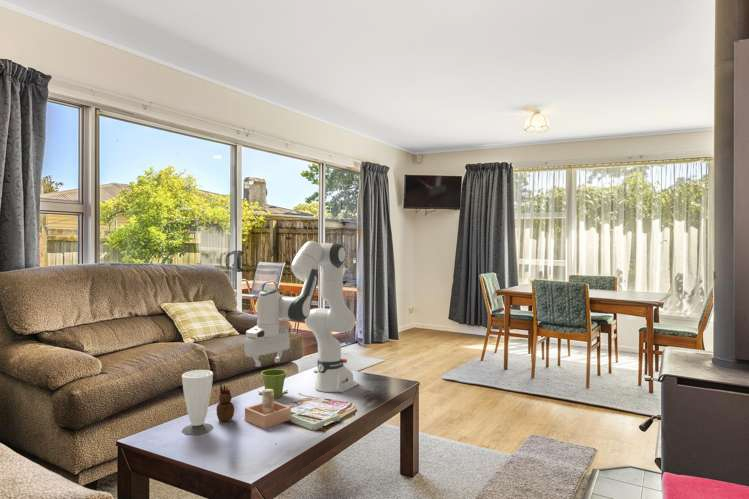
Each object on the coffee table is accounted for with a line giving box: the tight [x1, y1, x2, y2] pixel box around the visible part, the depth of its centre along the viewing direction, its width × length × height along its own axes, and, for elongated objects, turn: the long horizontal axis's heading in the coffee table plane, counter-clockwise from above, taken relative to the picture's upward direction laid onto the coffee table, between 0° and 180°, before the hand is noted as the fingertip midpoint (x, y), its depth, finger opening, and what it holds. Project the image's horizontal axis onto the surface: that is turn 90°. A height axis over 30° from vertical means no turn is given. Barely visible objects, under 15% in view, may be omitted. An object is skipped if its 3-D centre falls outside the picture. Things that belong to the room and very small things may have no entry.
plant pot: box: [260, 368, 288, 399], centre depth 231 cm, size 12×12×11 cm
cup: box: [181, 369, 214, 436], centre depth 191 cm, size 12×12×22 cm
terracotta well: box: [244, 400, 292, 429], centre depth 201 cm, size 13×13×5 cm
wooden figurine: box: [216, 383, 235, 423], centre depth 200 cm, size 7×6×15 cm
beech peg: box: [261, 388, 275, 415], centre depth 201 cm, size 4×4×12 cm
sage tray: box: [289, 406, 341, 431], centre depth 201 cm, size 14×14×2 cm
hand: (267, 364), depth 201 cm, fingers open, 8 cm apart
